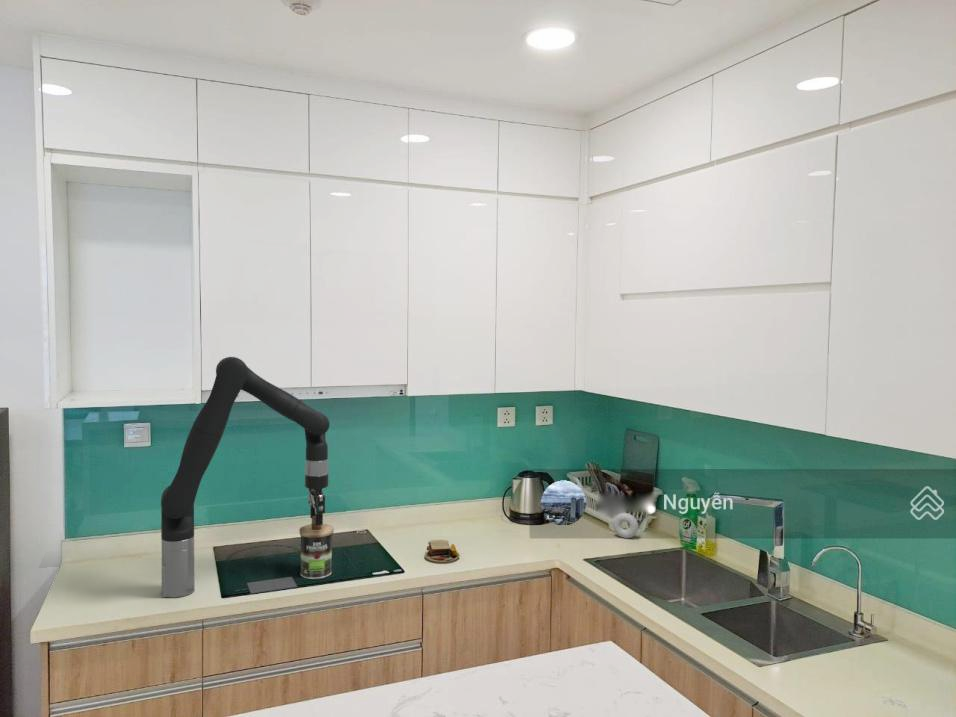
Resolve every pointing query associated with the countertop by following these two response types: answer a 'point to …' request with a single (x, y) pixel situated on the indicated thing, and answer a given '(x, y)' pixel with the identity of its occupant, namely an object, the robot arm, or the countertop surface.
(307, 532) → the lid
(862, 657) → the countertop surface
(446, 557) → the toy sandwich meal
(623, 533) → the donut
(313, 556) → the coffee can
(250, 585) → the mat
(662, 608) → the countertop surface
